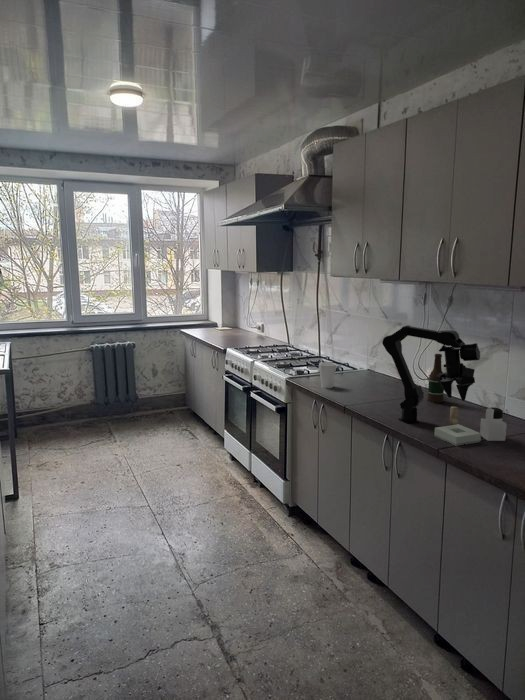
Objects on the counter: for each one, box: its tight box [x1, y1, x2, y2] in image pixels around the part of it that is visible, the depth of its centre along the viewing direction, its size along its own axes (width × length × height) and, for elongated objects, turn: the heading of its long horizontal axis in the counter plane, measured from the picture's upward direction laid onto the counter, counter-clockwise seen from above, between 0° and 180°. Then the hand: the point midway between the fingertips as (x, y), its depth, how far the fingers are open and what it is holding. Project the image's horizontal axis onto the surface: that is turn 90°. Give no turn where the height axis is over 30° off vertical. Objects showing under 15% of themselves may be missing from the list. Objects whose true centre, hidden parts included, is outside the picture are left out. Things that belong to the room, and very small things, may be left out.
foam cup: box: [318, 361, 337, 389], centre depth 283 cm, size 10×9×13 cm
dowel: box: [448, 406, 460, 426], centre depth 213 cm, size 3×3×9 cm
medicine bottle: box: [479, 407, 508, 442], centre depth 201 cm, size 7×7×12 cm
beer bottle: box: [427, 353, 445, 404], centre depth 253 cm, size 8×8×24 cm
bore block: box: [434, 423, 482, 447], centre depth 200 cm, size 12×12×4 cm
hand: (456, 399), depth 210 cm, fingers open, 9 cm apart
